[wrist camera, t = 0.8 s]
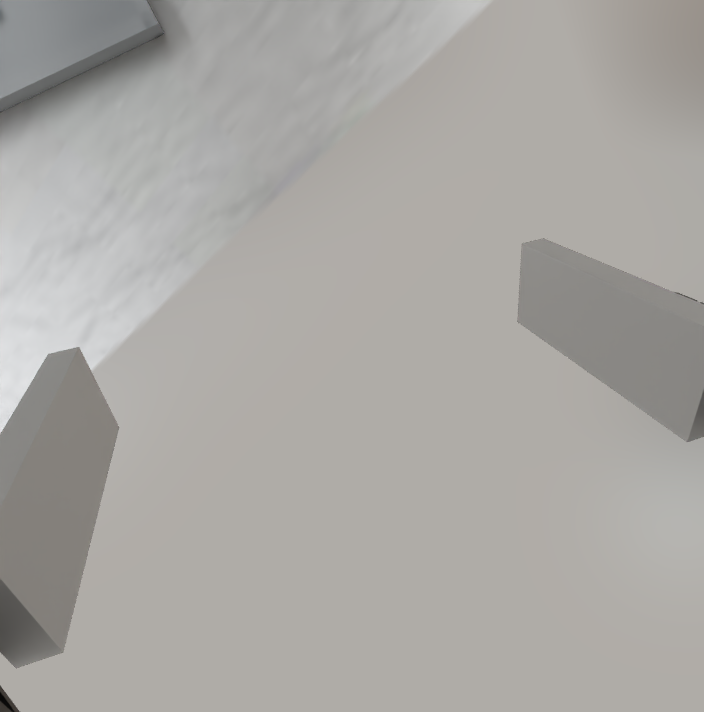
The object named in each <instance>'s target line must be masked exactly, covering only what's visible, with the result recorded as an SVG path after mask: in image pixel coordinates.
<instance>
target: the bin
mask: <svg viewBox="0 0 704 712" xmlns="http://www.w3.org/2000/svg"><path fill="white" fill-rule="evenodd" d="M163 34H164V32H163V30H162V28H161V26H160V24H159V22H158V21H157V19H156V17H155V15H154V13H153V11H152V9H151V7H150V5H149V3H148V1H147V0H0V112H2V111H4V110H6V109H8V108H10V107H12V106H14V105H16V104H18V103H21V102H23V101H25V100H27V99H29V98H31V97H33V96H35V95H37V94H39V93H41V92H44V91H46V90H48V89H50V88H52V87H54V86H56V85H58V84H60V83H62V82H64V81H67V80H69V79H71V78H73V77H75V76H77V75H79V74H81V73H83V72H85V71H87V70H90V69H92V68H94V67H96V66H98V65H100V64H102V63H104V62H106V61H108V60H110V59H113V58H115V57H117V56H119V55H121V54H123V53H125V52H127V51H129V50H131V49H133V48H136V47H138V46H140V45H142V44H144V43H146V42H148V41H150V40H152V39H154V38H156V37H159V36H161V35H163Z"/></svg>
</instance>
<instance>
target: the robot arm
mask: <svg viewBox="0 0 704 712" xmlns="http://www.w3.org/2000/svg"><path fill="white" fill-rule="evenodd" d="M518 323H520V324H521V325H523V326H524V327H526V328H527V329H528V330H530V331H531V332H532V333H534V334H536V335H537V336H538V337H540V338H541V339H542V340H544V341H545V342H547V343H548V344H549V345H551V346H552V347H554V348H555V349H556V350H558V351H559V352H561V353H562V354H563V355H565V356H567V357H568V358H569V359H570V360H572V361H574V362H575V363H576V364H578V365H579V366H580V367H582V368H583V369H585V370H586V371H587V372H589V373H590V374H592V375H593V376H595V377H596V378H597V379H599V380H600V381H602V382H603V383H604V384H606V385H607V386H609V387H610V388H611V389H613V390H614V391H616V392H617V393H619V394H620V395H621V396H623V397H624V398H626V399H627V400H628V401H630V402H631V403H633V404H634V405H635V406H637V407H638V408H640V409H641V410H643V411H644V412H645V413H647V414H648V415H649V416H651V417H652V418H654V419H655V420H657V421H658V422H659V423H661V424H662V425H664V426H665V427H666V428H668V429H670V430H671V431H672V432H673V433H675V434H676V435H678V436H679V437H681V438H682V439H683V440H685V441H686V442H689V441H692V440H695V439H698V438H701V437H704V303H701V302H700V303H699V302H697V300H694V299H692V298H689V297H687V296H685V295H682V294H680V293H676V292H672V291H670V290H667V289H665V288H663V287H660V286H658V285H655V284H653V283H651V282H648V281H646V280H643V279H641V278H638V277H636V276H633V275H631V274H629V273H626V272H624V271H621V270H619V269H616V268H614V267H612V266H609V265H607V264H604V263H602V262H600V261H597V260H595V259H592V258H590V257H587V256H585V255H582V254H580V253H578V252H575V251H573V250H570V249H568V248H565V247H563V246H561V245H558V244H556V243H553V242H551V241H548V240H546V239H544V238H543V239H539V240H535V241H530V242H526V243H522V250H521V268H520V285H519V304H518ZM118 430H119V426H118V424H117V422H116V420H115V418H114V416H113V414H112V412H111V410H110V408H109V406H108V404H107V402H106V400H105V398H104V396H103V394H102V392H101V390H100V388H99V386H98V384H97V382H96V380H95V378H94V376H93V374H92V372H91V370H90V368H89V366H88V364H87V362H86V360H85V358H84V356H83V354H82V352H81V350H80V348H79V347H77V348H73V349H68V350H64V351H60V352H55V353H51V354H48V355H47V357H46V359H45V360H44V362H43V364H42V365H41V367H40V369H39V370H38V372H37V374H36V375H35V377H34V379H33V381H32V382H31V384H30V386H29V387H28V389H27V391H26V392H25V394H24V396H23V397H22V399H21V401H20V402H19V404H18V406H17V407H16V409H15V411H14V412H13V414H12V416H11V417H10V419H9V421H8V422H7V424H6V426H5V427H4V429H3V431H2V432H1V434H0V652H1V653H2V654H3V655H4V656H5V657H6V658H7V659H8V661H10V663H11V664H12V665H13V666H14V667H15V668H19V667H21V666H24V665H28V664H30V663H33V662H36V661H39V660H42V659H45V658H48V657H51V656H54V655H57V654H60V653H63V651H64V647H65V643H66V639H67V635H68V631H69V627H70V622H71V619H72V615H73V611H74V607H75V603H76V599H77V595H78V591H79V587H80V583H81V578H82V575H83V571H84V567H85V563H86V559H87V555H88V550H89V547H90V543H91V539H92V534H93V531H94V526H95V523H96V518H97V514H98V510H99V506H100V502H101V498H102V494H103V490H104V486H105V482H106V478H107V474H108V470H109V466H110V462H111V458H112V454H113V450H114V446H115V442H116V438H117V434H118ZM0 712H19V710H18V709H17V708H16V706H15V705H14V703H13V702H12V701H11V699H10V698H9V697H8V695H7V694H6V693H5V692H4V690H3V689H2V687H1V686H0Z"/></svg>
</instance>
